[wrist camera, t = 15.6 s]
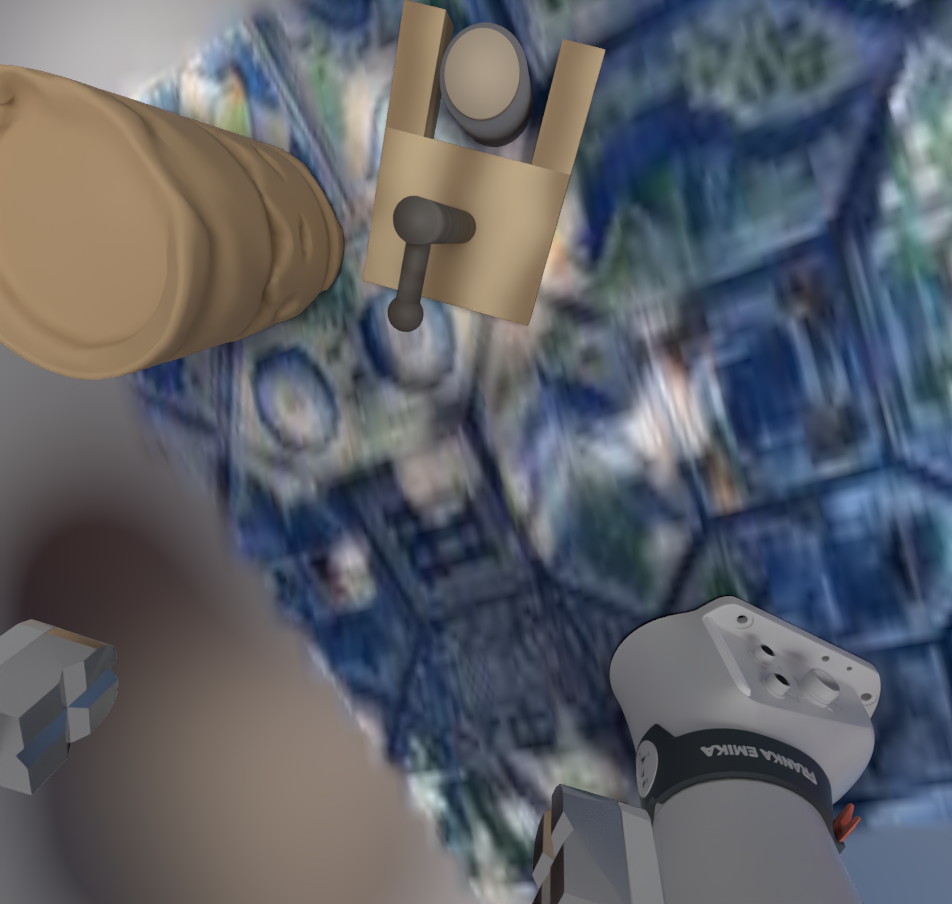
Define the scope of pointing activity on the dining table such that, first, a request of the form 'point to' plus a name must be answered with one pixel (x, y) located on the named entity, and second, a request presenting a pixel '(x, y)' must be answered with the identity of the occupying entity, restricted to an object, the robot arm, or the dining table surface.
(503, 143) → the grey cylinder peg
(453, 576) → the dining table surface
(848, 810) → the robot arm
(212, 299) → the container
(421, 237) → the wooden hook stand
